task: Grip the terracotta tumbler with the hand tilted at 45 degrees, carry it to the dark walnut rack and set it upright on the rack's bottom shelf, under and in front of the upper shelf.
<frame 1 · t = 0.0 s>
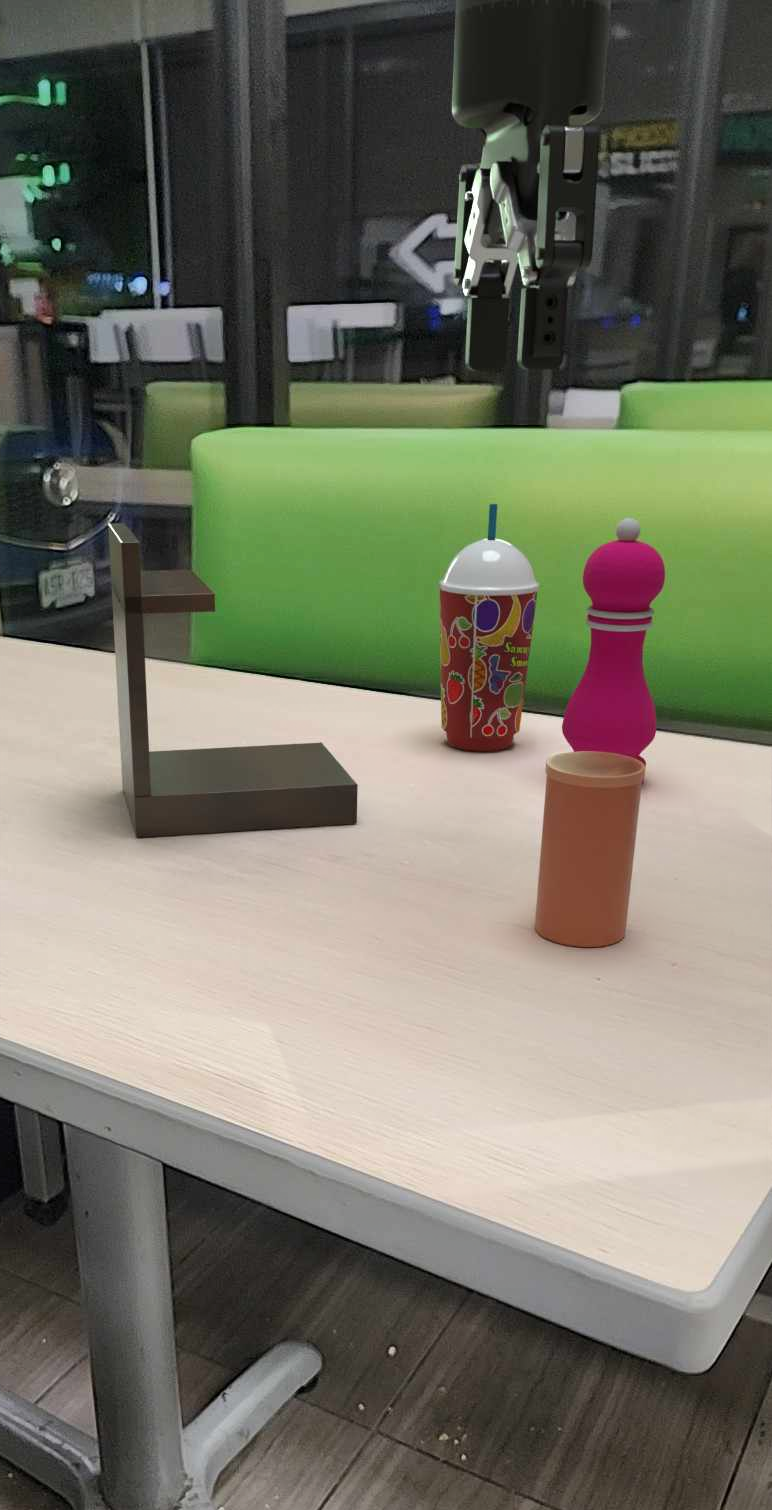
hand: (510, 370, 72), 30 cm above the table, tool pointing down, fingers open, 8 cm apart
tumbler: (579, 930, 78), on the table
smoothie: (479, 745, 117), on the table
pepper mill: (603, 782, 106), on the table
rack: (235, 806, 100), on the table
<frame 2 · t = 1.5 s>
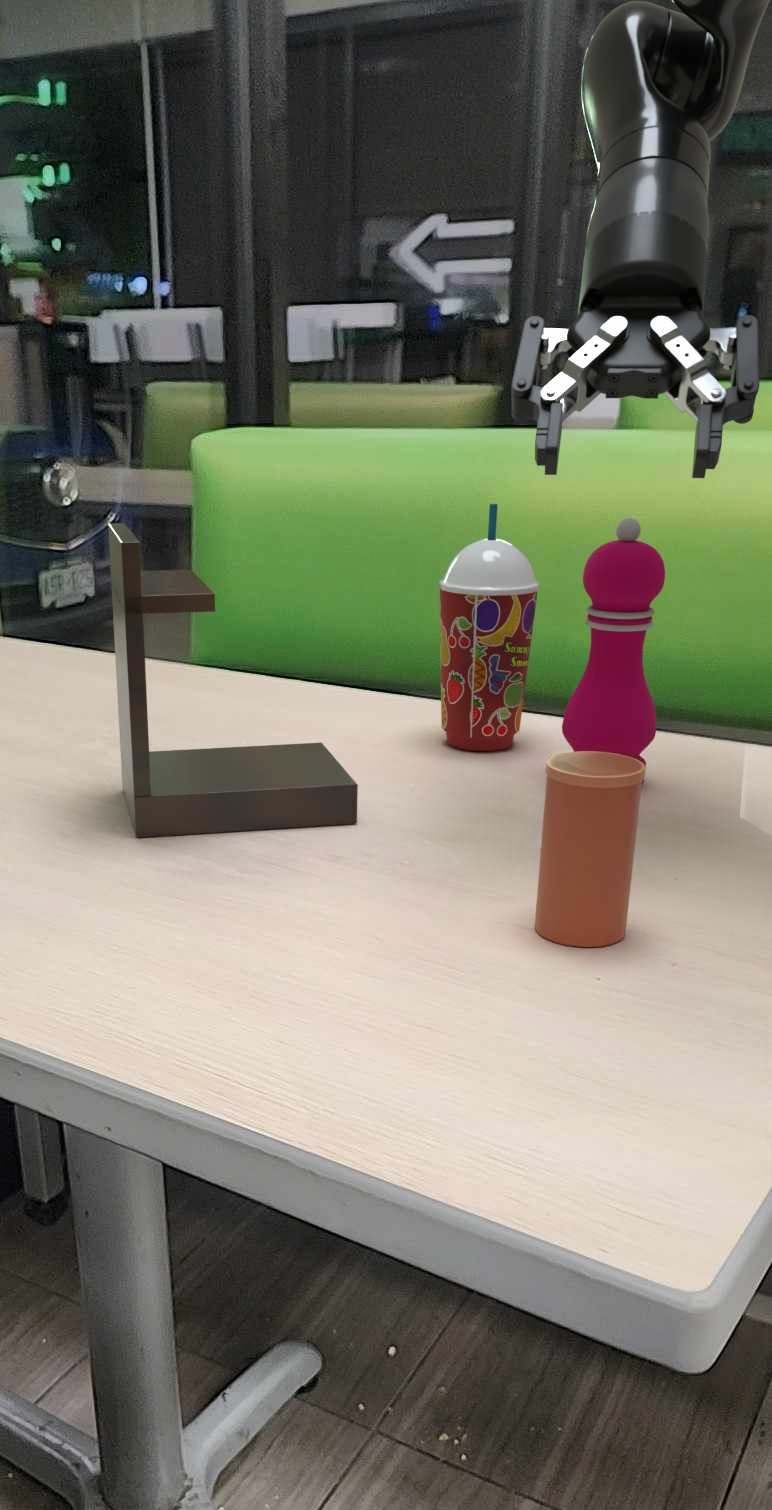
hand: (625, 467, 78), 25 cm above the table, tool tilted 45°, fingers open, 8 cm apart
nothing on the table moved.
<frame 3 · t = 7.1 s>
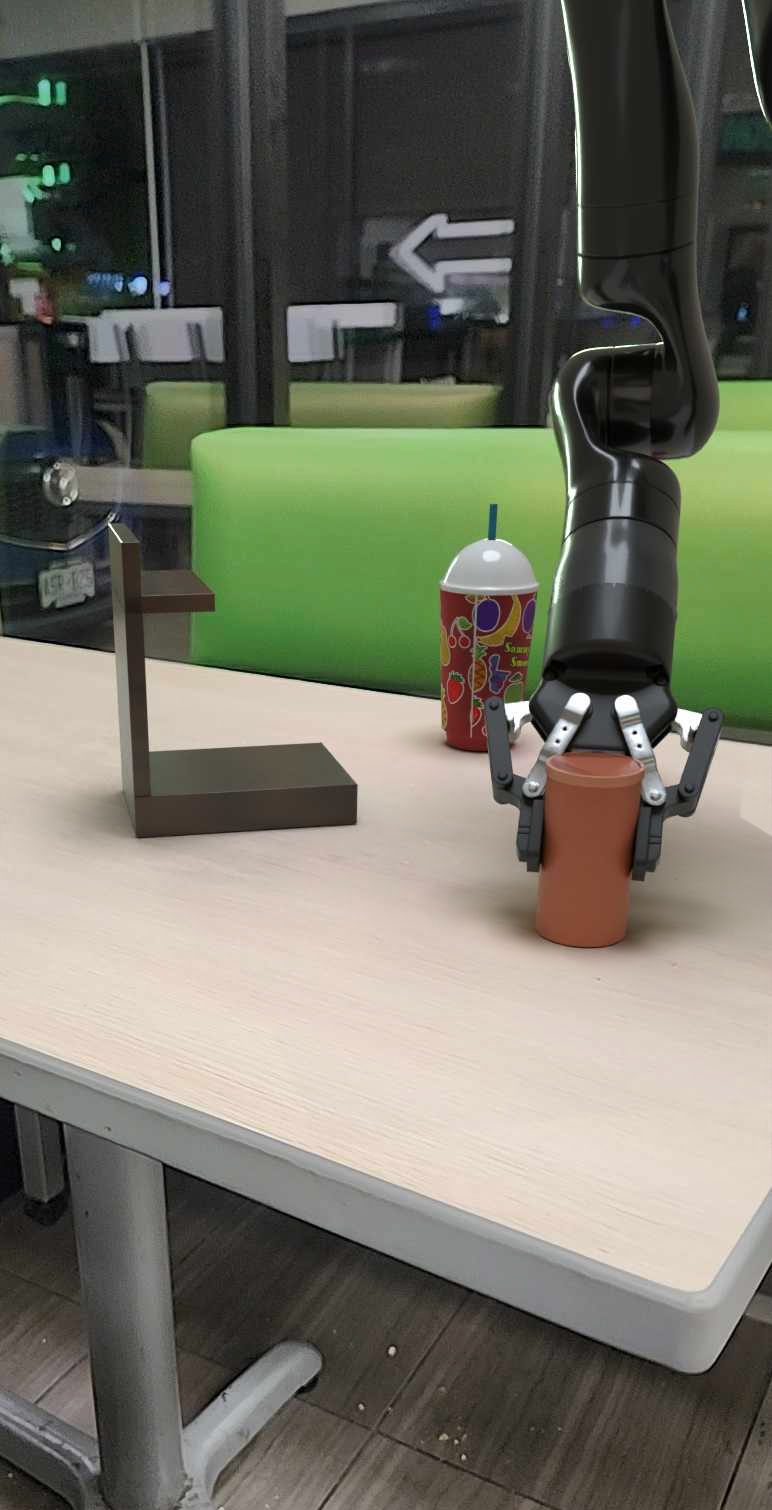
hand: (585, 869, 74), 4 cm above the table, tool tilted 45°, fingers closed on tumbler, 5 cm apart
tumbler: (580, 930, 78), on the table, touching gripper
everything else where it was.
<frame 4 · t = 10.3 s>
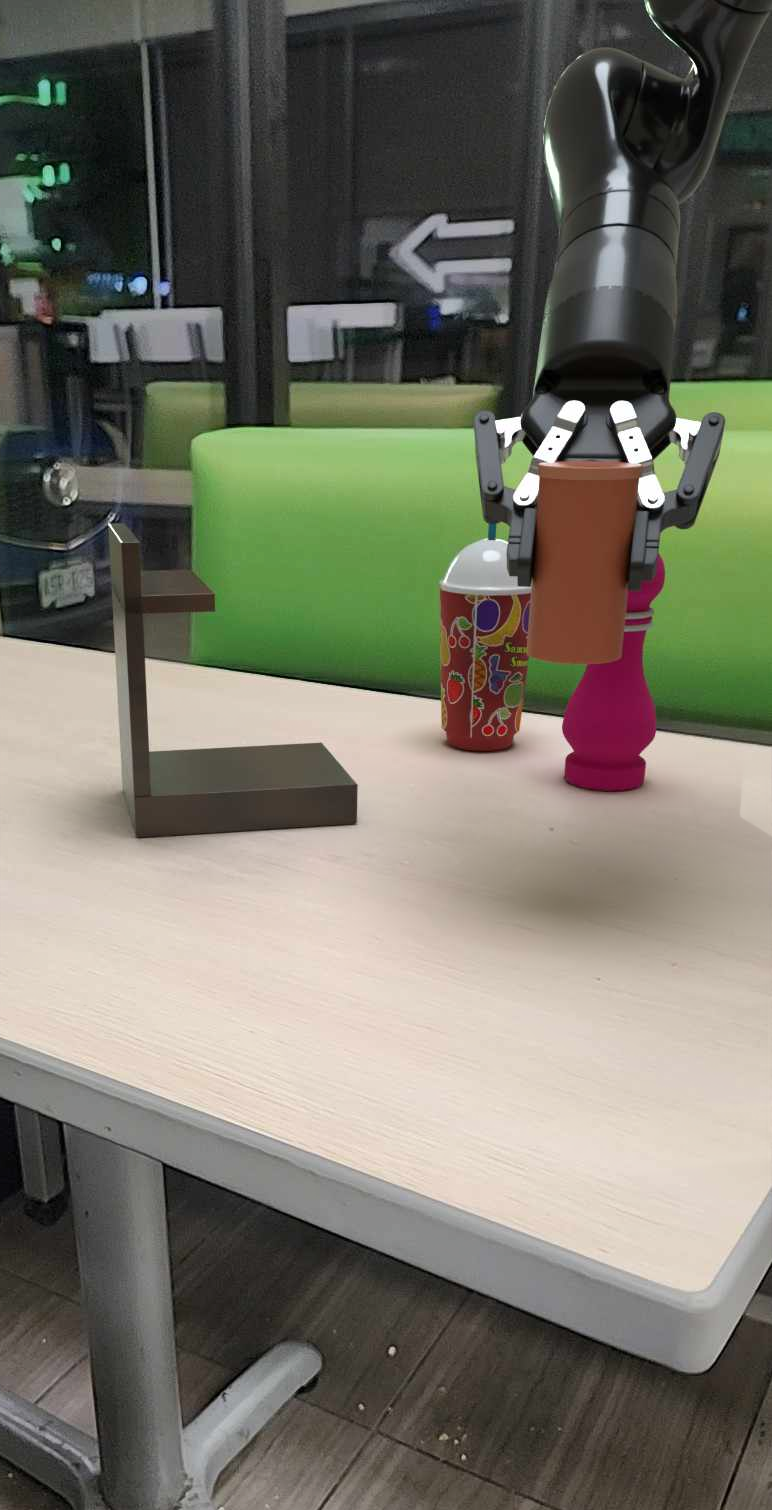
hand: (579, 578, 71), 20 cm above the table, tool tilted 45°, fingers closed on tumbler, 5 cm apart
tumbler: (573, 655, 74), point 15 cm above the table, touching gripper
everything else where it was.
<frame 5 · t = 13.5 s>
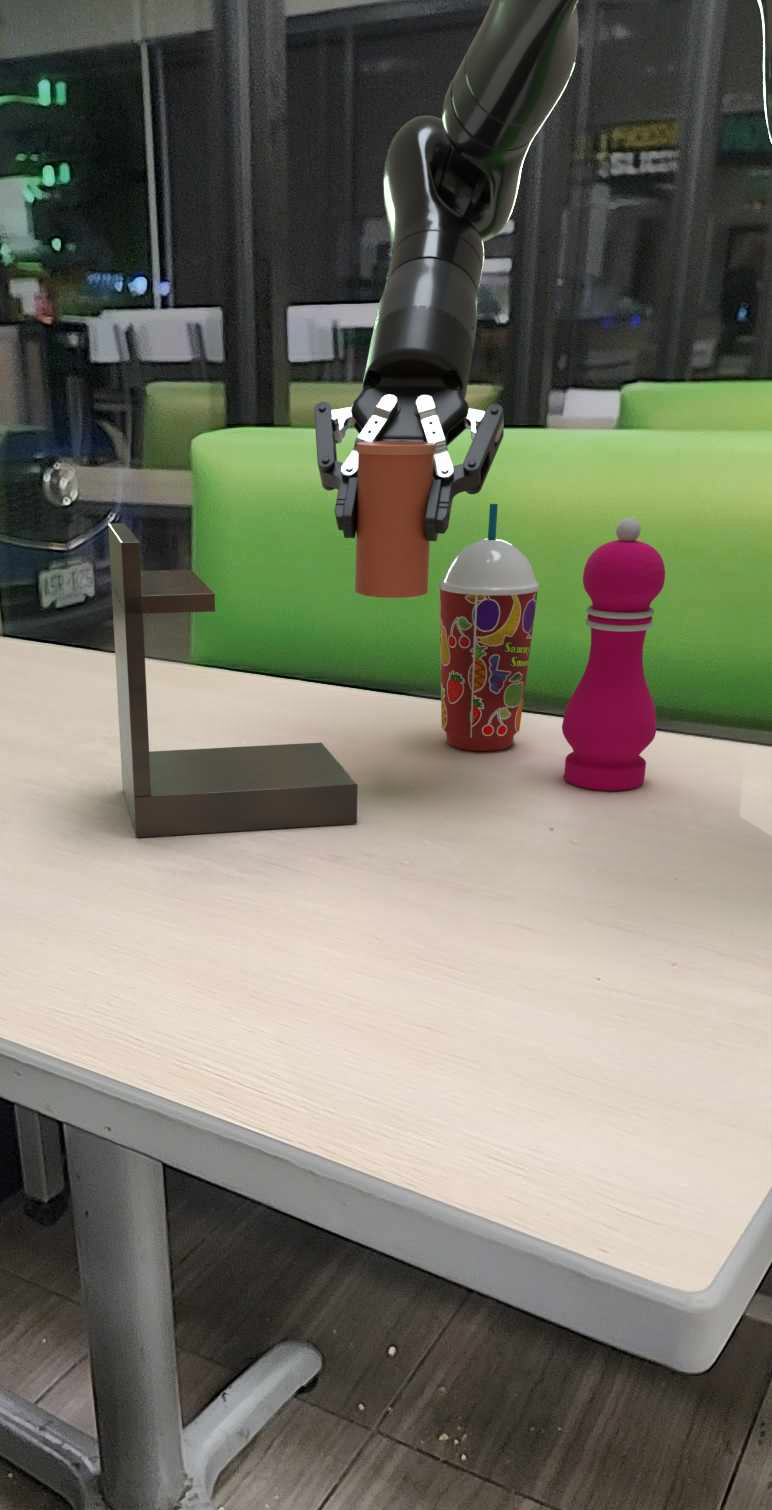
hand: (389, 531, 92), 20 cm above the table, tool tilted 45°, fingers closed on tumbler, 5 cm apart
tumbler: (391, 592, 95), point 15 cm above the table, touching gripper
everything else where it was.
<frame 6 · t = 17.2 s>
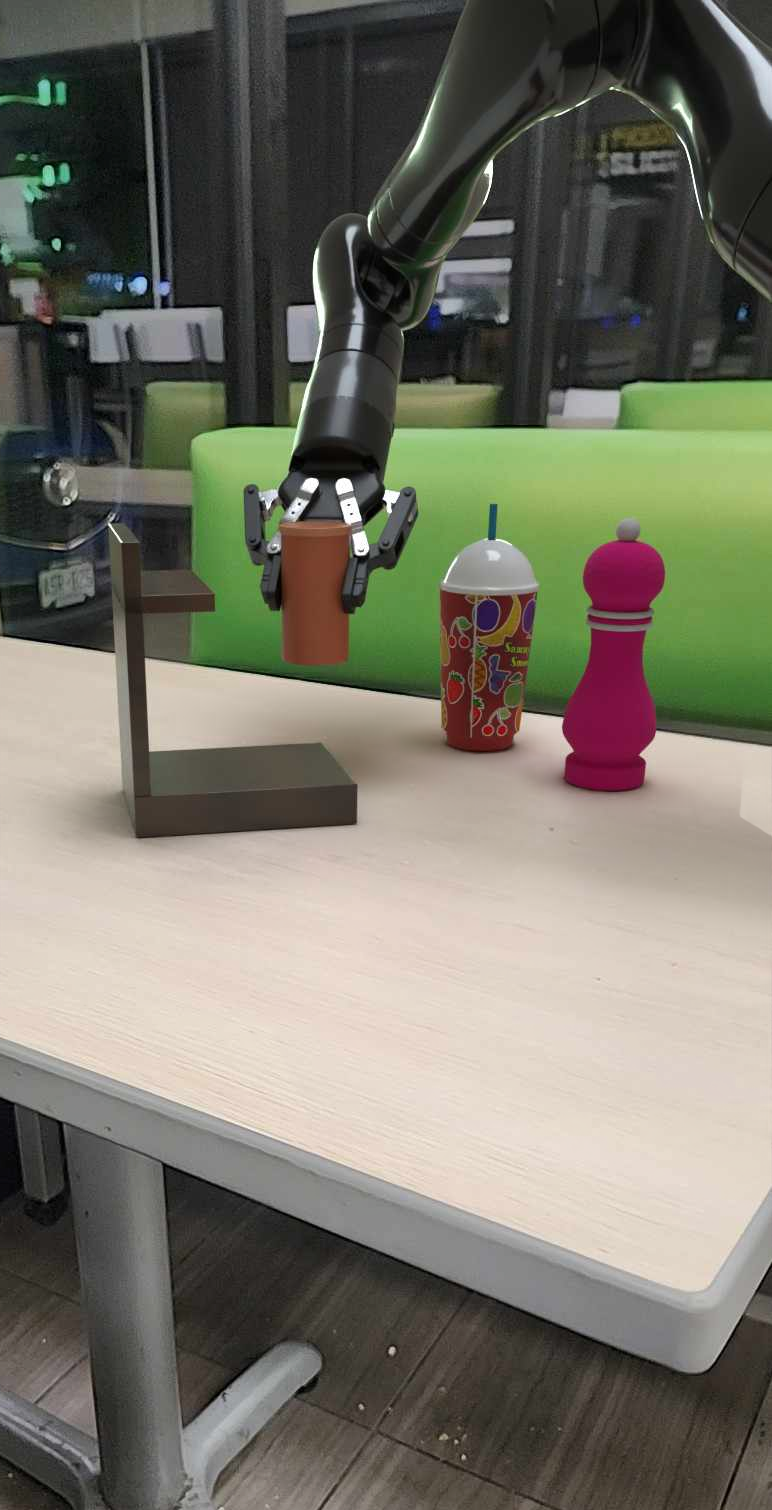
hand: (310, 605, 99), 14 cm above the table, tool tilted 45°, fingers closed on tumbler, 5 cm apart
tumbler: (315, 659, 103), point 10 cm above the table, touching gripper
everything else where it was.
when the fingers open (7 cm above the table, at t = 20.3 s): tumbler stays where it is, resting on rack.
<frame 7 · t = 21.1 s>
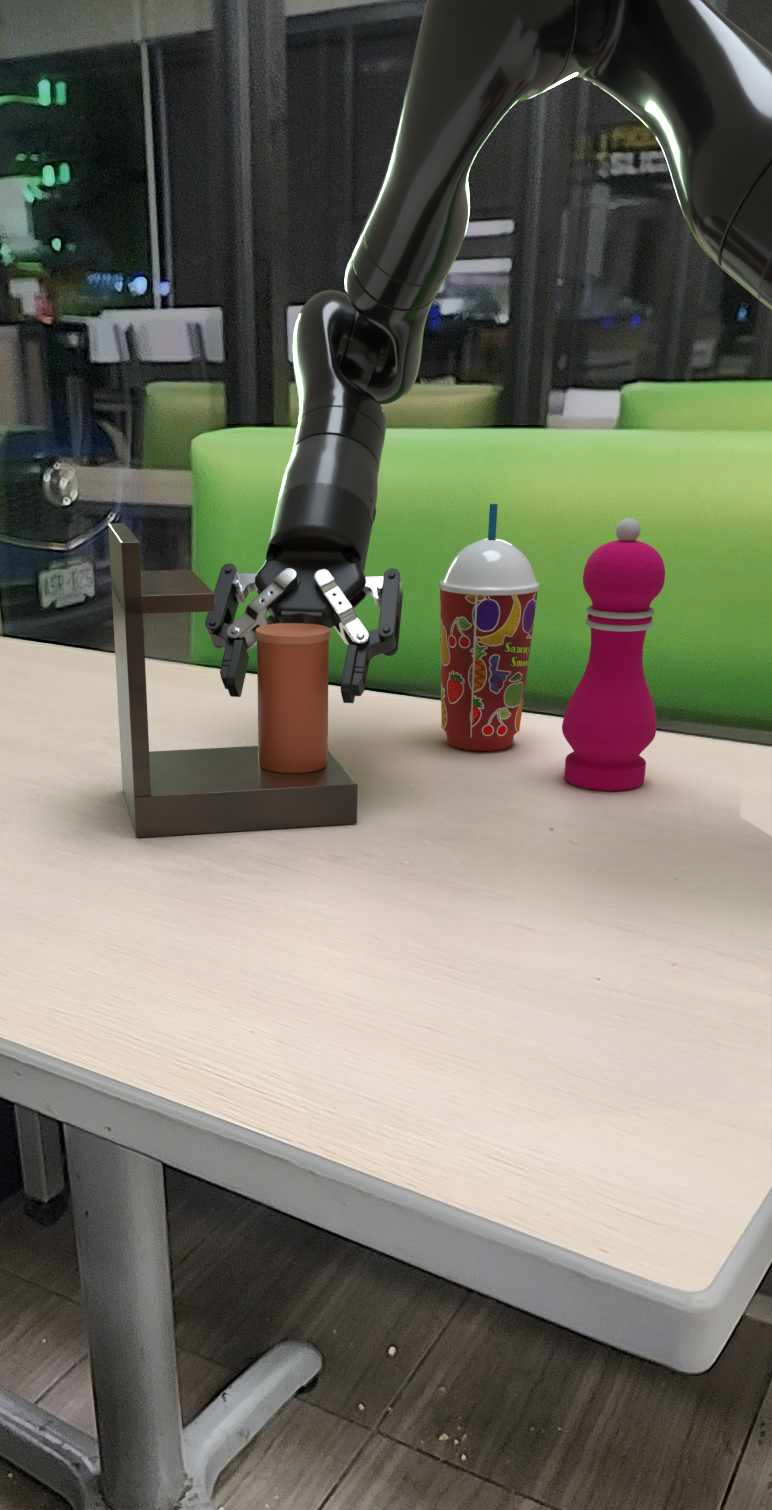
hand: (289, 694, 96), 9 cm above the table, tool tilted 45°, fingers open, 8 cm apart
tumbler: (292, 764, 100), point 3 cm above the table, touching rack
everything else where it was.
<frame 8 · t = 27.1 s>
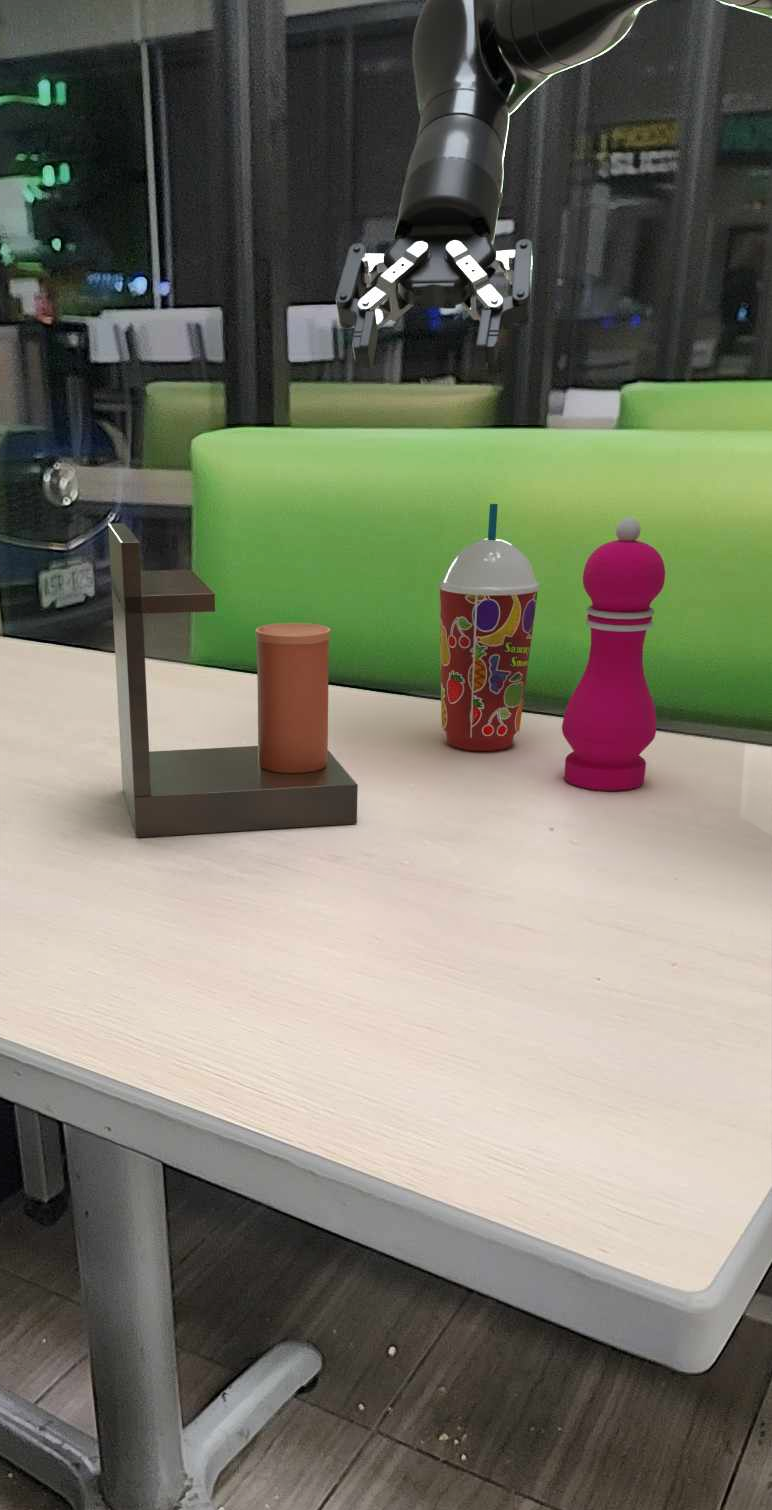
hand: (422, 361, 96), 31 cm above the table, tool tilted 45°, fingers open, 8 cm apart
nothing on the table moved.
at the end: tumbler inside the target area on the rack (0.8 cm from its centre), point 3.0 cm above the rack's base; tumbler tilted 0° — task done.
